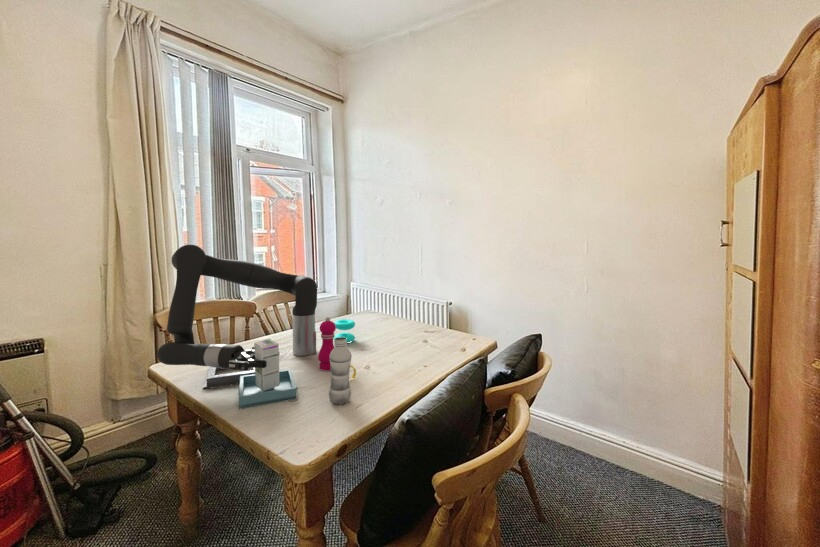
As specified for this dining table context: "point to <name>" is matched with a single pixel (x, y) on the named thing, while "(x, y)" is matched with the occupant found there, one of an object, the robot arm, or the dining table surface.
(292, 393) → the tray
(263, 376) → the syrup box
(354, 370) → the watch
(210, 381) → the metal socket
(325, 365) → the pepper mill
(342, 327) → the donuts
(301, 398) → the dining table surface
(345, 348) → the plastic bottle
